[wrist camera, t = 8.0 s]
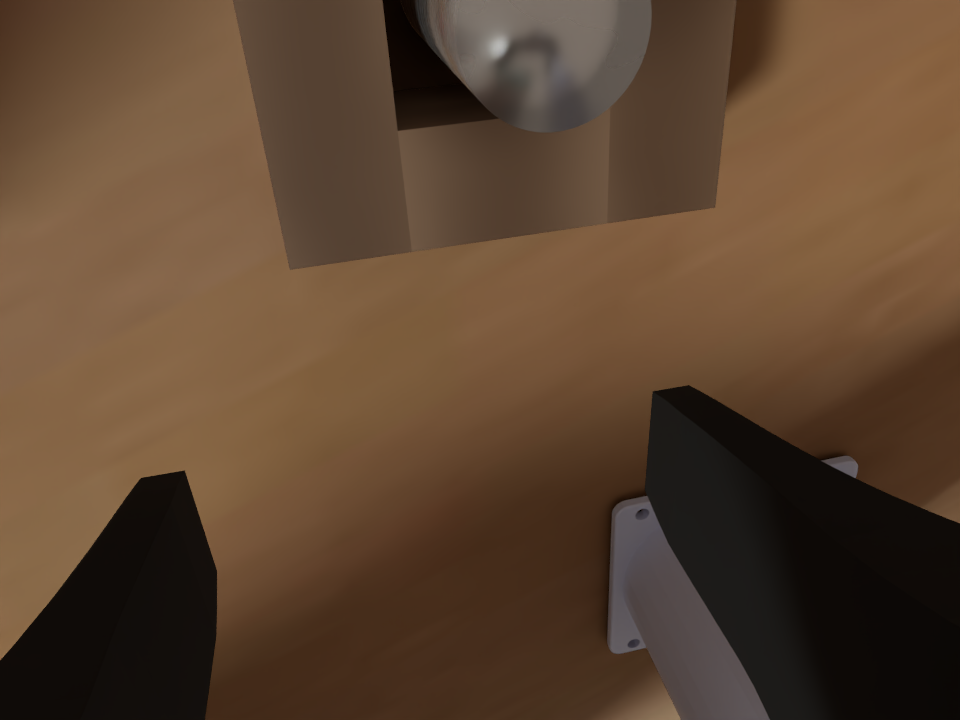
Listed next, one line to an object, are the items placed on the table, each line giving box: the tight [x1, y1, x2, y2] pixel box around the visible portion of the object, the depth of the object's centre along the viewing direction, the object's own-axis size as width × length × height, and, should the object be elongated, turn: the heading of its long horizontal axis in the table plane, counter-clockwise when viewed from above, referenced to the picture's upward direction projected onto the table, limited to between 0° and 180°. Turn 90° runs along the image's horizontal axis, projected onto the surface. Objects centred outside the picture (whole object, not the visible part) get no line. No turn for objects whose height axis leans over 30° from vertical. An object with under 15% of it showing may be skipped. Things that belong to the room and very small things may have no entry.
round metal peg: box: [401, 0, 652, 132], centre depth 15 cm, size 3×3×7 cm
